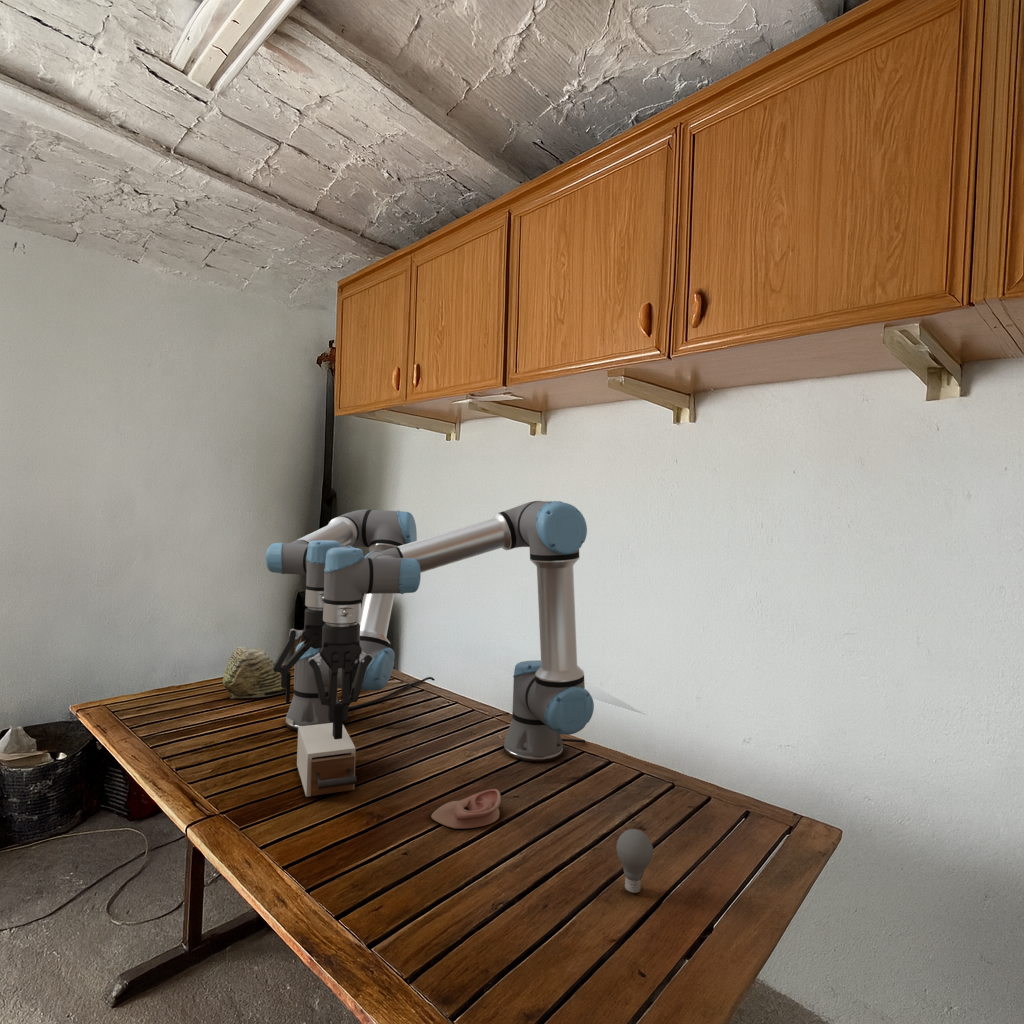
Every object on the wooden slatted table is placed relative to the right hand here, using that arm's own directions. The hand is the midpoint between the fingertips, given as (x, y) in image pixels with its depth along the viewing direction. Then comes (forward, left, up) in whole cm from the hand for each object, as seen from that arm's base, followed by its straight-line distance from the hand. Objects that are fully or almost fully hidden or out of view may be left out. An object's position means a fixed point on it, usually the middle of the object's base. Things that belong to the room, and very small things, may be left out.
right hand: (337, 736), depth 131 cm
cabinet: (+1, -14, -14) cm, 20 cm away
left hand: (+2, -18, +2) cm, 18 cm away
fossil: (+14, -79, -14) cm, 82 cm away
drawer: (0, -8, -13) cm, 15 cm away
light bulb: (-43, +46, -14) cm, 64 cm away
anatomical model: (-24, +13, -14) cm, 31 cm away
